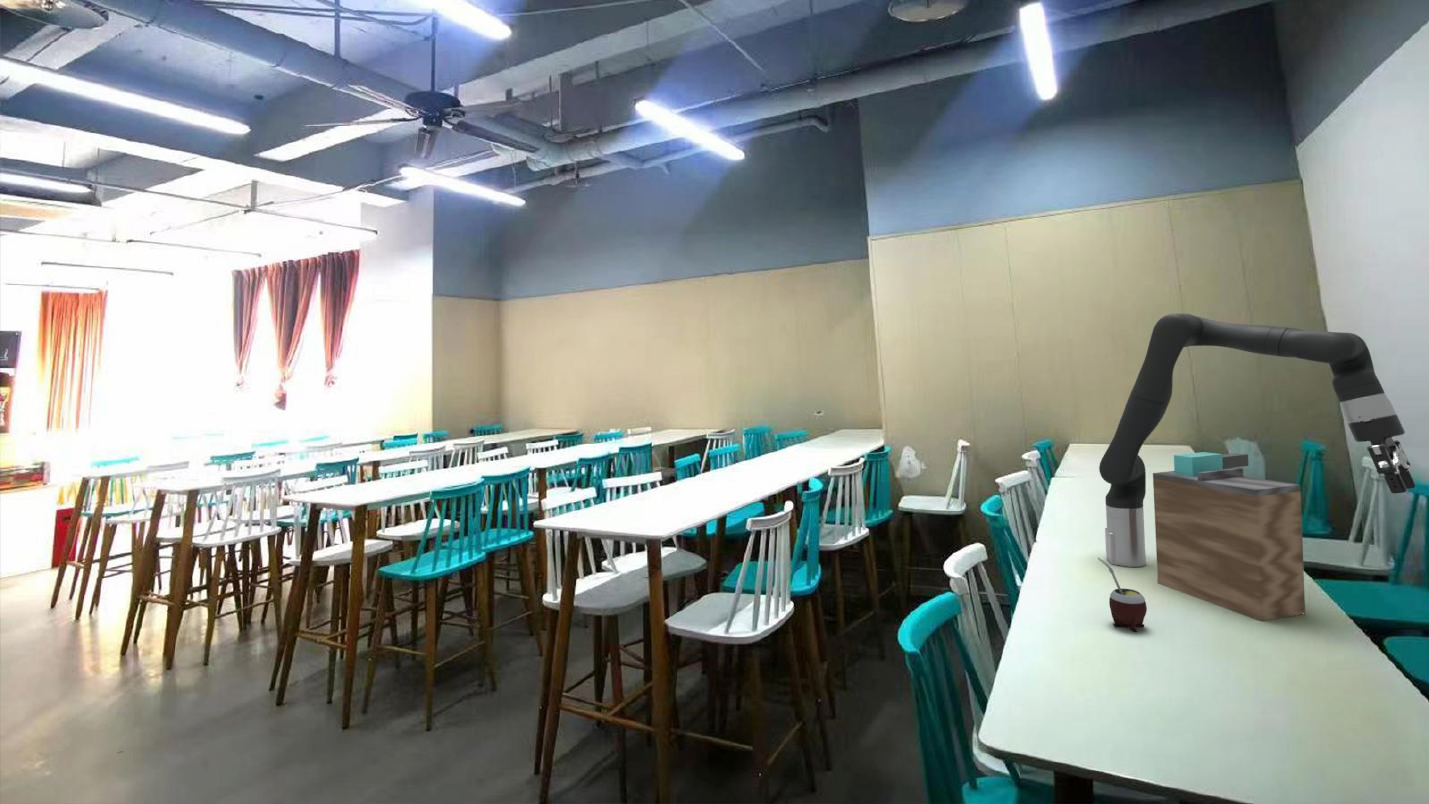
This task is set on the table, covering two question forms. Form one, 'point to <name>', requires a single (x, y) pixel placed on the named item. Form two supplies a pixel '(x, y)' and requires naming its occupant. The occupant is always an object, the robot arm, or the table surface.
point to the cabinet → (1231, 541)
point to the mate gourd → (1126, 606)
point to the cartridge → (1207, 462)
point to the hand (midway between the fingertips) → (1404, 490)
